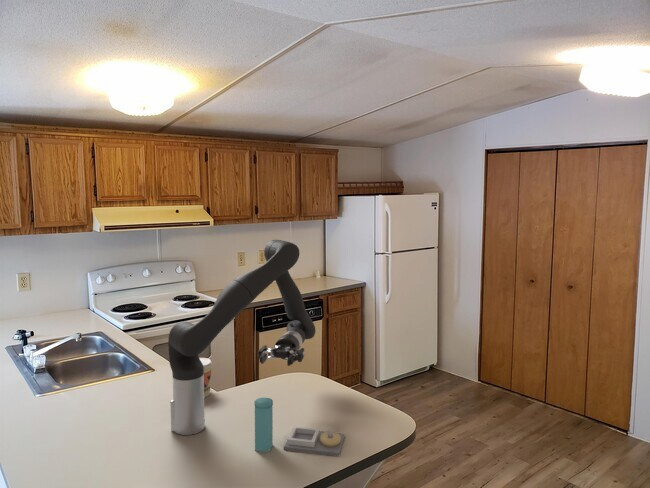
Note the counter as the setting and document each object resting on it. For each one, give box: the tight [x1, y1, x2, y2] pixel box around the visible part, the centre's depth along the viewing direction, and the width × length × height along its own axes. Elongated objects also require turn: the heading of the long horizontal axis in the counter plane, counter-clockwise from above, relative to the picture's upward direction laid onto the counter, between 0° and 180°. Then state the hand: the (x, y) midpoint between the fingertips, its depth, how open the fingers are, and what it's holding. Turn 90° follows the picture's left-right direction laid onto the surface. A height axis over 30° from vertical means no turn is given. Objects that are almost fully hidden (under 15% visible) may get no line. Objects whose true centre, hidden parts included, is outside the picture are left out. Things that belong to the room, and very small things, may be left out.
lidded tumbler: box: [254, 397, 274, 453], centre depth 143 cm, size 5×5×14 cm
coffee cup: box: [199, 357, 213, 398], centre depth 178 cm, size 9×9×12 cm
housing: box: [283, 425, 346, 457], centre depth 146 cm, size 16×11×4 cm
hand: (275, 361), depth 152 cm, fingers open, 8 cm apart
